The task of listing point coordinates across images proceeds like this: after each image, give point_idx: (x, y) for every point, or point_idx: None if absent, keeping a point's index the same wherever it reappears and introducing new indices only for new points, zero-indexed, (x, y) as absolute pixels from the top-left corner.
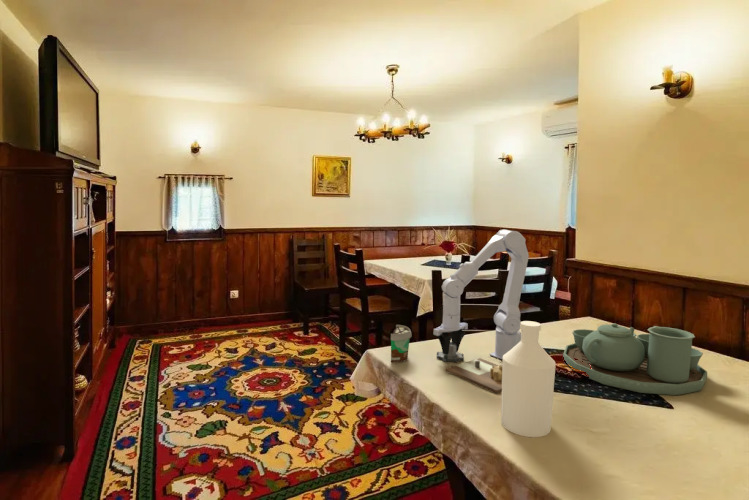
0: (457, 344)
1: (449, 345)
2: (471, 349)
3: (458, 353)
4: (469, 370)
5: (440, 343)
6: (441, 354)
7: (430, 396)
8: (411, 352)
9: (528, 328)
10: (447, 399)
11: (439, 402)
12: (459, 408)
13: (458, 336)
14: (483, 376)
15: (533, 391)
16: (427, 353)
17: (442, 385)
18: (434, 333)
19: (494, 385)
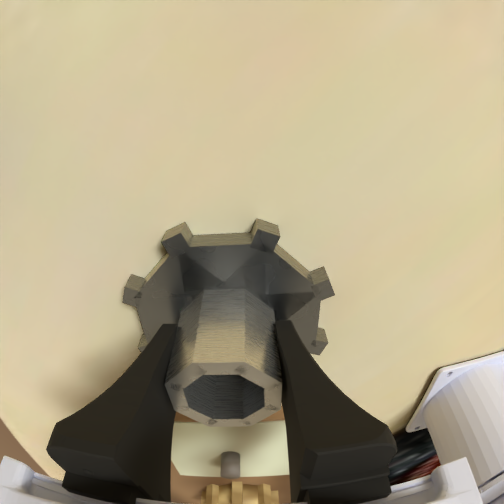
0: (283, 406)
1: (184, 414)
2: (472, 264)
3: (304, 332)
4: (173, 456)
5: (123, 374)
6: (170, 291)
7: (12, 433)
8: (30, 81)
9: None
10: (44, 455)
11: (26, 450)
12: (58, 472)
13: (291, 473)
14: (189, 479)
15: None
16: (123, 154)
17: (49, 432)
18: (8, 471)
19: (177, 496)
